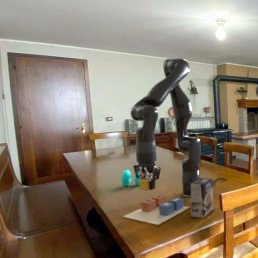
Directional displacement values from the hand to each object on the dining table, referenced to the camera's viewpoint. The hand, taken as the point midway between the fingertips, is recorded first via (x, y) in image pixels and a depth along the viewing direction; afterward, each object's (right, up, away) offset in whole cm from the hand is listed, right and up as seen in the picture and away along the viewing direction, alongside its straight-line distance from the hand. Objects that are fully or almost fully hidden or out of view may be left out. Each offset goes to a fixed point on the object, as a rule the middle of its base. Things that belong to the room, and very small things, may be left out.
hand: (147, 188), depth 109 cm
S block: (0, 0, 0) cm, 0 cm away
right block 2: (+7, -13, +12) cm, 19 cm away
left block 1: (-5, -13, +9) cm, 16 cm away
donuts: (-35, -9, +45) cm, 57 cm away
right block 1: (+5, -13, +6) cm, 15 cm away
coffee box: (+22, -14, +8) cm, 27 cm away
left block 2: (-3, -12, +15) cm, 19 cm away
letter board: (0, -14, +8) cm, 15 cm away
